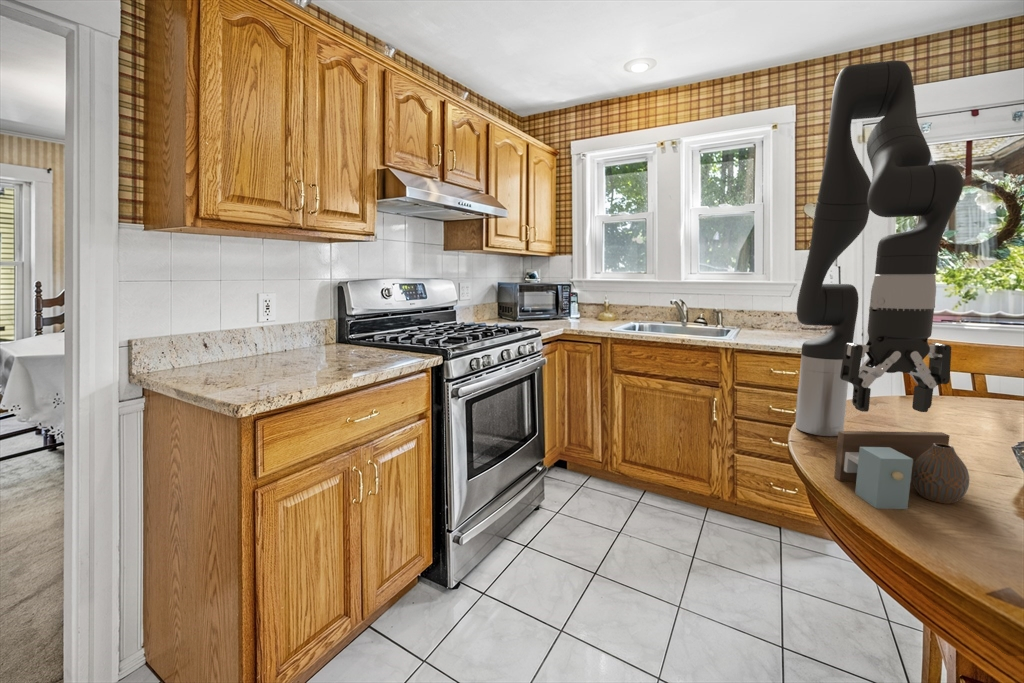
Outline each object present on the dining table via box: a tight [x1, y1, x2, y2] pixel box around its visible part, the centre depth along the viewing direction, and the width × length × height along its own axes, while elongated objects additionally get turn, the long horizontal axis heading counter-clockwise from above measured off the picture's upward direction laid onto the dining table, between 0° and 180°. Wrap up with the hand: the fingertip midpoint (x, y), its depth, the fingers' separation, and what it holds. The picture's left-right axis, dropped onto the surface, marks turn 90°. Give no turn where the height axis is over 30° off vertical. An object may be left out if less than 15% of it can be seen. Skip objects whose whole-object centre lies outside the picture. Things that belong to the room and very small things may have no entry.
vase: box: [911, 443, 970, 504], centre depth 76 cm, size 7×7×9 cm
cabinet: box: [844, 447, 913, 510], centre depth 77 cm, size 9×5×8 cm, turn 176°
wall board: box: [833, 430, 950, 484], centre depth 83 cm, size 2×17×8 cm, turn 86°
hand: (890, 410), depth 74 cm, fingers open, 8 cm apart
